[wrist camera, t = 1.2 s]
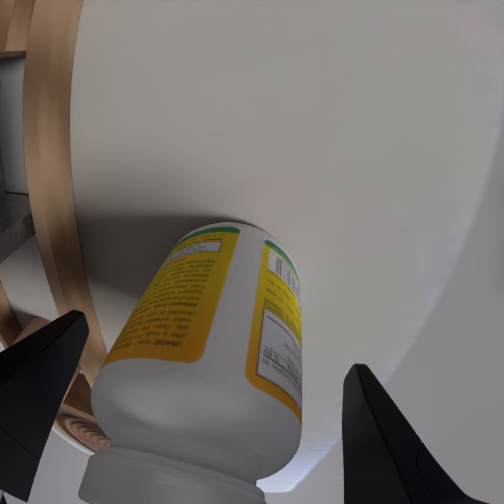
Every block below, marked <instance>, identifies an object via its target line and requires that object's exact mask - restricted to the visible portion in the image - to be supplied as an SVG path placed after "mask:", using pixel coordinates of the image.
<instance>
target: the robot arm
mask: <svg viewBox="0 0 504 504" xmlns="http://www.w3.org/2000/svg"><path fill="white" fill-rule="evenodd" d="M88 336H89V326H88V322H87V319H86V316H85V314H84V312H82V311H79V310H75V309H74V310H71V311H69V312H68V313H66V314H64V315H62V316H61V317H59V318H57V319H55V320H54V321H52V322H50V323H49V324H47V325H45V326H43V327H42V328H40V329H38V330H37V331H35V332H33V333H31V334H30V335H28V336H26V337H25V338H23V339H21V340H20V341H18V342H16V343H15V344H13V345H11V346H10V347H8V348H7V349H5V350H3V351H2V352H0V504H7V503H6V500H5V497H4V495H3V494H4V492H6V493H8V494H10V495H12V496H14V497H16V498H18V499H20V500H23V501H25V502H27V501H28V499H29V495H30V491H31V487H32V484H33V481H34V478H35V474H36V471H37V468H38V465H39V462H40V458H41V456H42V453H43V450H44V447H45V444H46V442H47V439H48V436H49V434H50V431H51V428H52V426H53V423H54V421H55V418H56V416H57V413H58V411H59V408H60V406H61V404H62V401H63V399H64V397H65V394H66V392H67V390H68V387H69V385H70V383H71V381H72V379H73V376H74V374H75V372H76V369H77V367H78V364H79V361H80V358H81V355H82V352H83V350H84V347H85V344H86V341H87V339H88ZM342 440H343V463H344V464H343V465H344V504H489V503H485V502H482V501H479V500H476V499H473V498H471V497H469V496H468V495H466V494H465V493H464V492H463V491H462V490H461V489H460V488H459V487H458V486H457V485H456V484H455V482H454V481H453V480H452V479H451V478H450V477H449V475H448V474H447V473H446V472H445V471H444V470H443V469H442V467H441V466H440V465H439V464H438V463H437V461H436V460H435V459H434V457H433V456H432V455H431V453H430V452H429V451H428V449H427V448H426V446H425V445H424V443H423V442H422V441H421V440H420V438H419V436H418V435H417V434H416V432H415V431H414V429H413V428H412V427H411V425H410V424H409V422H408V421H407V420H406V418H405V417H404V415H403V414H402V413H401V411H400V410H399V408H398V407H397V406H396V404H395V403H394V401H393V400H392V399H391V397H390V396H389V395H388V393H387V392H386V390H385V389H384V388H383V386H382V385H381V384H380V382H379V381H378V380H377V378H376V377H375V375H374V374H373V373H372V371H371V370H370V369H369V367H368V366H367V365H366V364H354V365H353V366H352V367H351V369H350V371H349V372H348V374H347V375H346V377H345V379H344V384H343V408H342ZM421 442H422V443H421Z"/></svg>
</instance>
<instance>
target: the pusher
mask: <svg viewBox="0 0 504 504" xmlns="http://www.w3.org/2000/svg"><path fill="white" fill-rule="evenodd" d="M35 234H36V232H35V227H34V222H33V217H32V212H31V206H30V199H29V196H27V195H18V194H9V193H5V192H4V185H3V178H2V170H1V161H0V264H1V263H2V262H3V261H4V260H5V259H6V258H7V257H8V256H9V255H11V254H12V253H13V252H14V251H15V250H16V249H18V248H19V247H20V246H21V245H22V244H24V243H25V242H26V241H27V240H28V239H30V238H31V237H32V236H33V235H35Z"/></svg>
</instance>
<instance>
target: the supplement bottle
mask: <svg viewBox="0 0 504 504" xmlns="http://www.w3.org/2000/svg"><path fill="white" fill-rule="evenodd" d="M91 406H92V411H93V414H94V417H95V419H96V421H97V423H98V425H99V427H100V428H101V429H102V431H103V432H104V433H105V435H106V436H107V437H108V438H109V439H110V440H111V443H110V446H109V447H105V448H99V449H98V450H97V452H96V454H94V455H91V456H90V458H89V460H88V465H87V468H86V471H85V474H84V476H83V479H82V483H81V486H80V489H79V492H78V496H79V497H80V499H82V500H84V501H85V502H87V503H89V504H267V503H266V502H265V498H264V492H263V491H262V490H261V489H260V488H258V487H256V481H257V480H259V479H263V478H266V477H269V476H271V475H273V474H275V473H276V472H278V471H280V470H281V469H282V468H284V467H285V466H286V465H287V464H288V463H289V462H290V461H291V460H292V458H293V457H294V455H295V454H296V452H297V449H298V447H299V444H300V439H301V427H302V343H301V299H300V283H299V275H298V272H297V268H296V266H295V263H294V261H293V259H292V257H291V256H290V254H289V252H288V251H287V250H286V248H285V247H284V246H283V245H282V244H281V243H280V242H279V241H277V240H276V239H275V238H274V237H272V236H271V235H269V234H268V233H266V232H264V231H262V230H260V229H258V228H256V227H253V226H250V225H246V224H242V223H234V222H222V223H215V224H210V225H206V226H203V227H200V228H198V229H195V230H193V231H191V232H190V233H188V234H187V235H185V236H184V237H183V238H182V239H180V240H179V241H178V242H177V244H176V245H175V246H174V247H173V249H172V250H171V251H170V253H169V255H168V256H167V258H166V259H165V261H164V263H163V264H162V266H161V267H160V269H159V270H158V272H157V273H156V275H155V277H154V278H153V280H152V282H151V283H150V285H149V286H148V288H147V290H146V291H145V293H144V295H143V296H142V298H141V299H140V301H139V303H138V304H137V306H136V308H135V309H134V311H133V313H132V314H131V316H130V318H129V319H128V321H127V323H126V324H125V326H124V328H123V329H122V331H121V333H120V335H119V336H118V338H117V340H116V341H115V343H114V345H113V347H112V349H111V350H110V352H109V354H108V356H107V358H106V359H105V361H104V363H103V365H102V366H101V368H100V370H99V372H98V374H97V376H96V378H95V381H94V383H93V387H92V390H91Z"/></svg>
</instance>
